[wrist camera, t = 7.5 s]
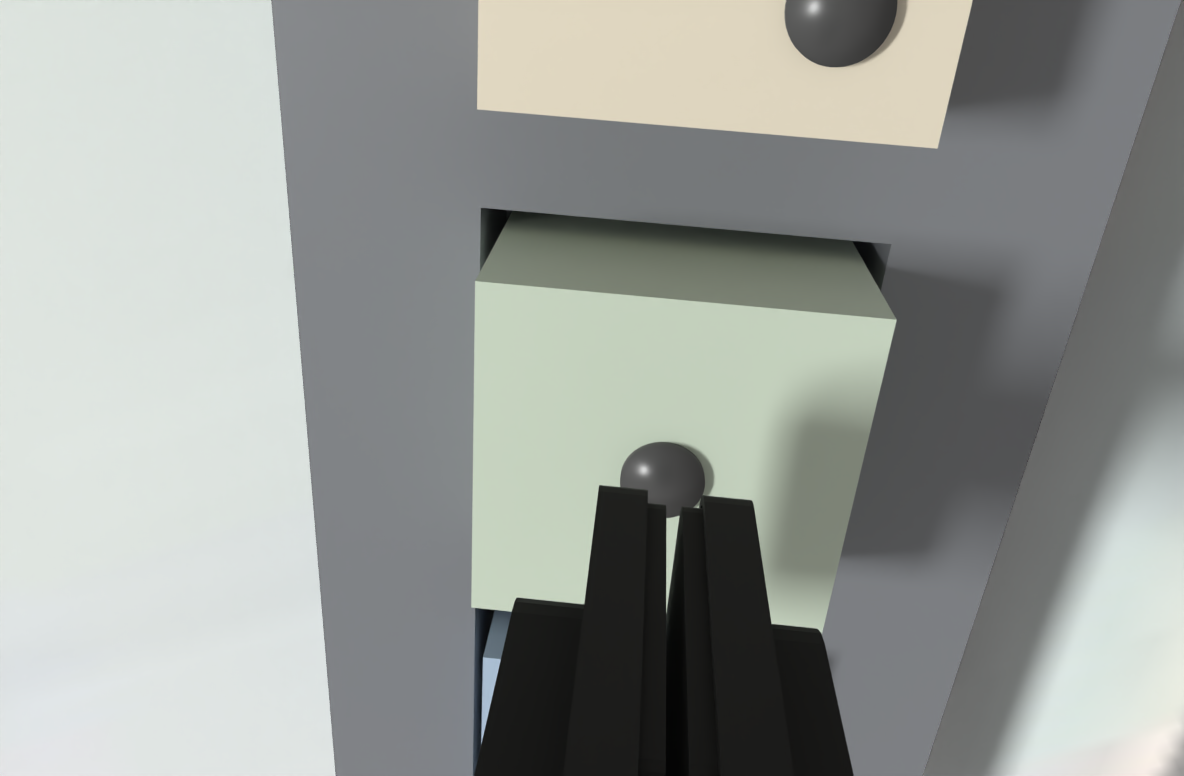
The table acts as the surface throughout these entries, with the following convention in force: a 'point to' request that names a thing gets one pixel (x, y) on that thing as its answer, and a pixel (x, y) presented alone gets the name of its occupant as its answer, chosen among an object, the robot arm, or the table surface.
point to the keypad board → (699, 199)
